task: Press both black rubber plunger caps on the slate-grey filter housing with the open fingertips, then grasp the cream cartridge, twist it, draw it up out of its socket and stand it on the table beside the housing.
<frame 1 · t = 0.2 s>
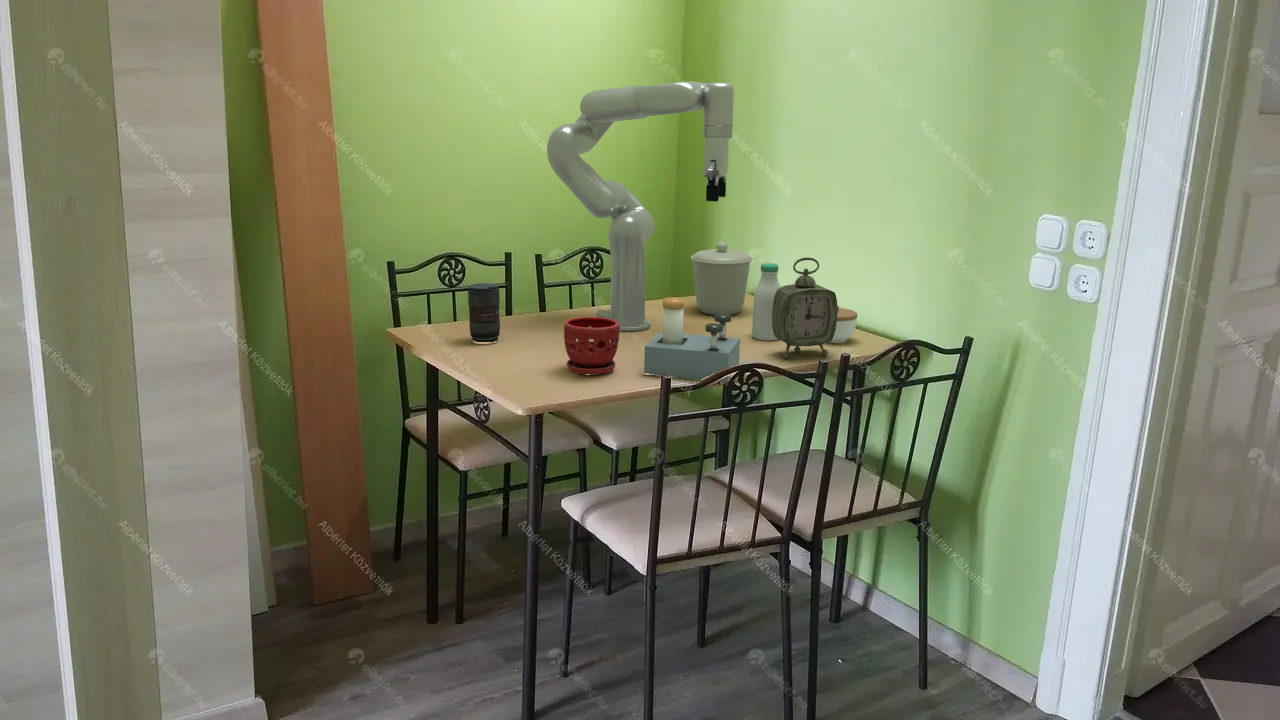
hand: (715, 198, 263), 37 cm above the table, tool pointing down, fingers open, 9 cm apart
plunger 1: (713, 340, 231), point 9 cm above the table, slide at 0.0 cm
plant pot: (591, 370, 239), on the table
milk bottle: (766, 338, 269), on the table
housing: (692, 370, 239), on the table
plunger 2: (722, 330, 240), point 9 cm above the table, slide at 0.0 cm
canister: (719, 312, 297), on the table
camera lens: (485, 342, 263), on the table
tabletop clock: (800, 355, 254), on the table
lidded jar: (834, 341, 268), on the table
cartridge: (672, 356, 240), point 3 cm above the table, touching housing
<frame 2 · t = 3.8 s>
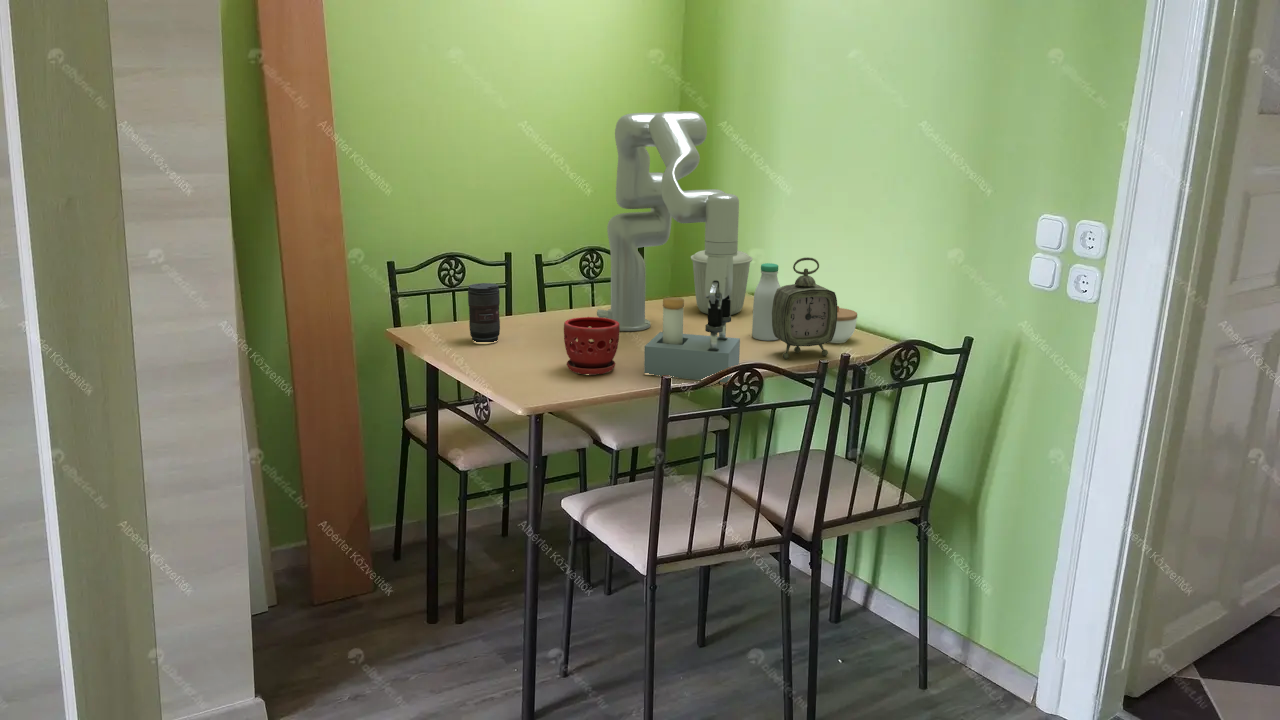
hand: (719, 320, 234), 13 cm above the table, tool pointing down, fingers open, 9 cm apart
plunger 1: (713, 340, 231), point 9 cm above the table, slide at 0.0 cm, touching gripper
plunger 2: (722, 330, 240), point 9 cm above the table, slide at 0.1 cm, touching gripper
everything else where it was.
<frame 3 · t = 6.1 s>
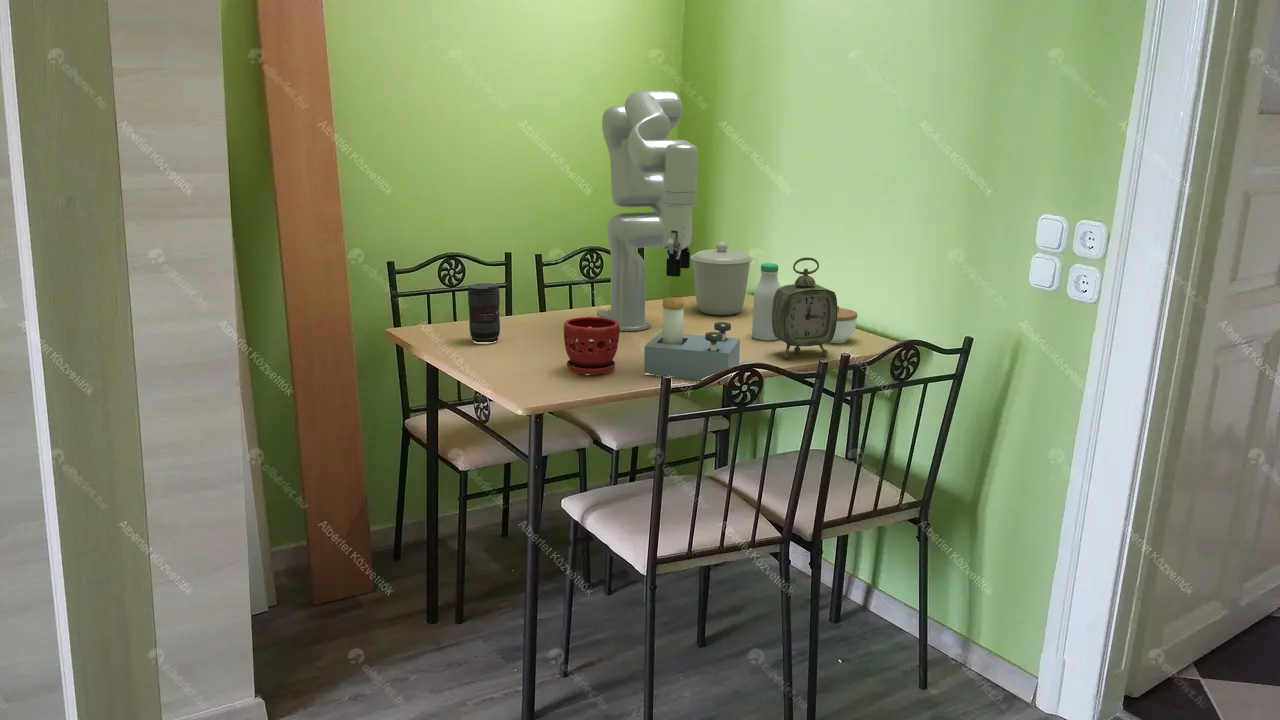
hand: (678, 271, 234), 24 cm above the table, tool pointing down, fingers open, 9 cm apart
plunger 1: (713, 349, 231), point 7 cm above the table, slide at 2.1 cm
plunger 2: (722, 338, 240), point 7 cm above the table, slide at 2.1 cm
everything else where it was.
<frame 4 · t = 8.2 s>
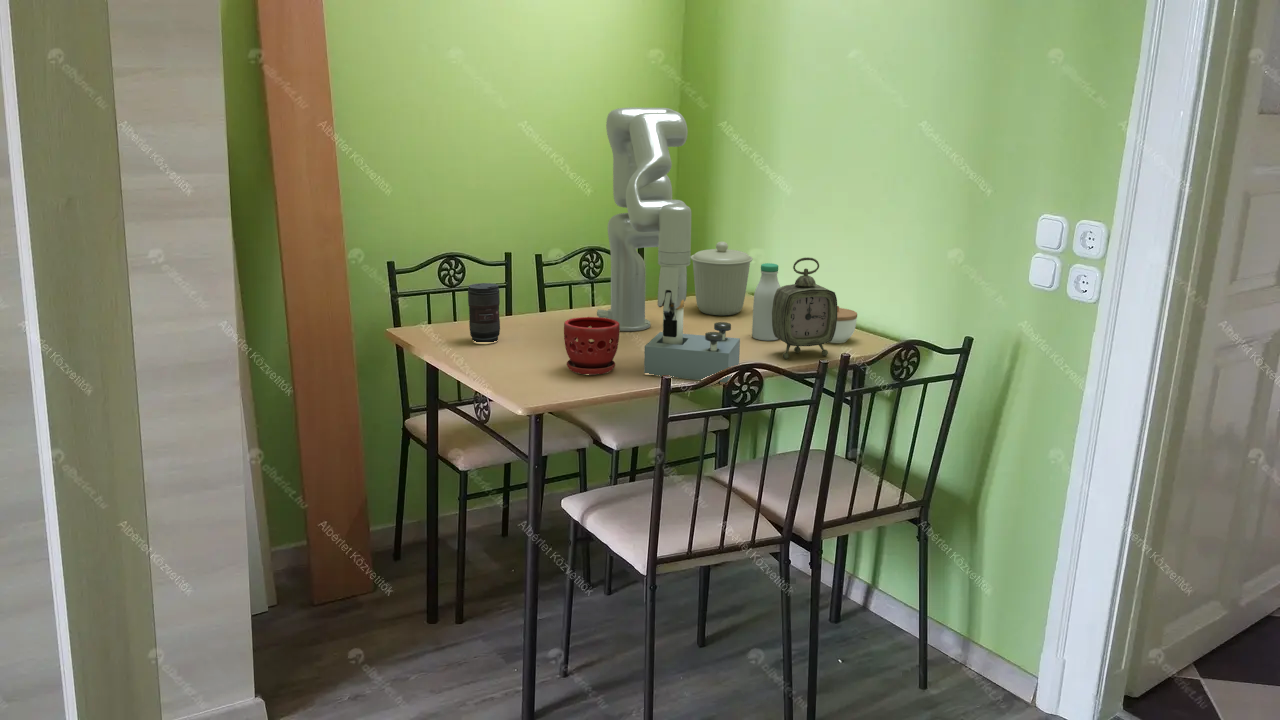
hand: (672, 332, 238), 9 cm above the table, tool pointing down, fingers closed on cartridge, 4 cm apart
cartridge: (672, 356, 240), point 3 cm above the table, touching gripper, housing
everything else where it was.
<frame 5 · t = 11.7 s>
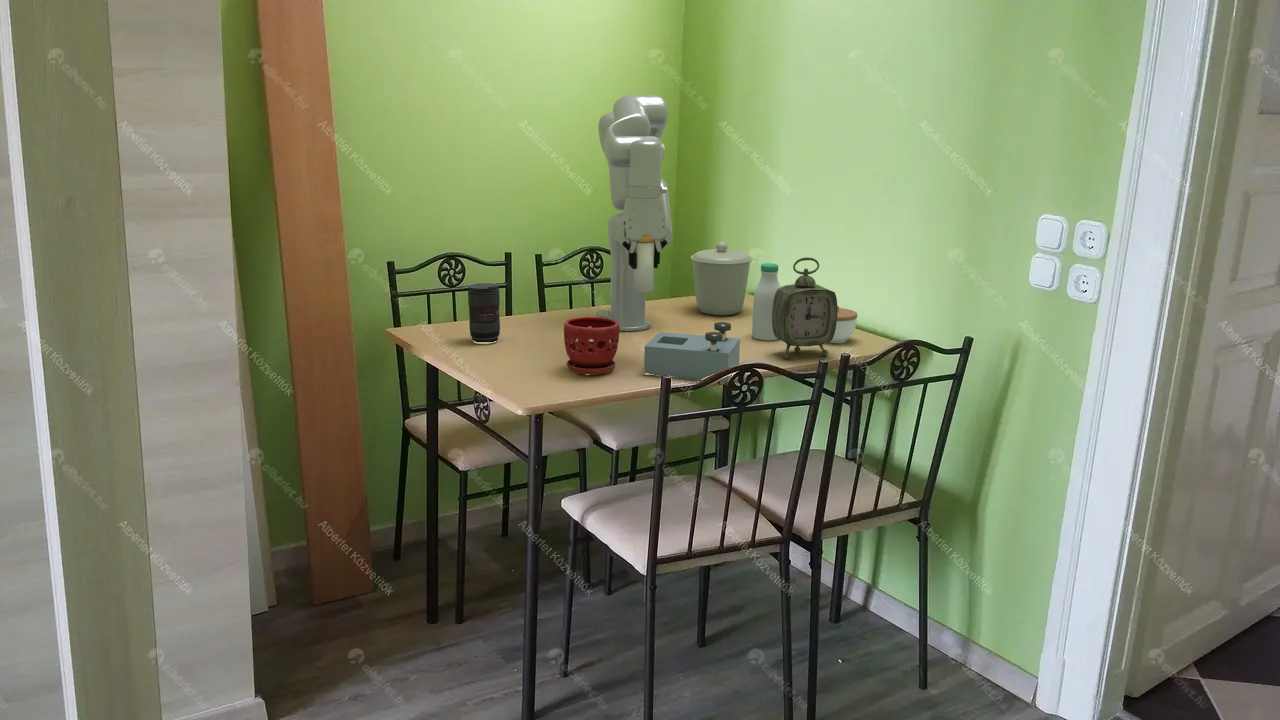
hand: (644, 266, 244), 23 cm above the table, tool pointing down, fingers closed on cartridge, 4 cm apart
cartridge: (643, 290, 246), point 17 cm above the table, touching gripper
everything else where it was.
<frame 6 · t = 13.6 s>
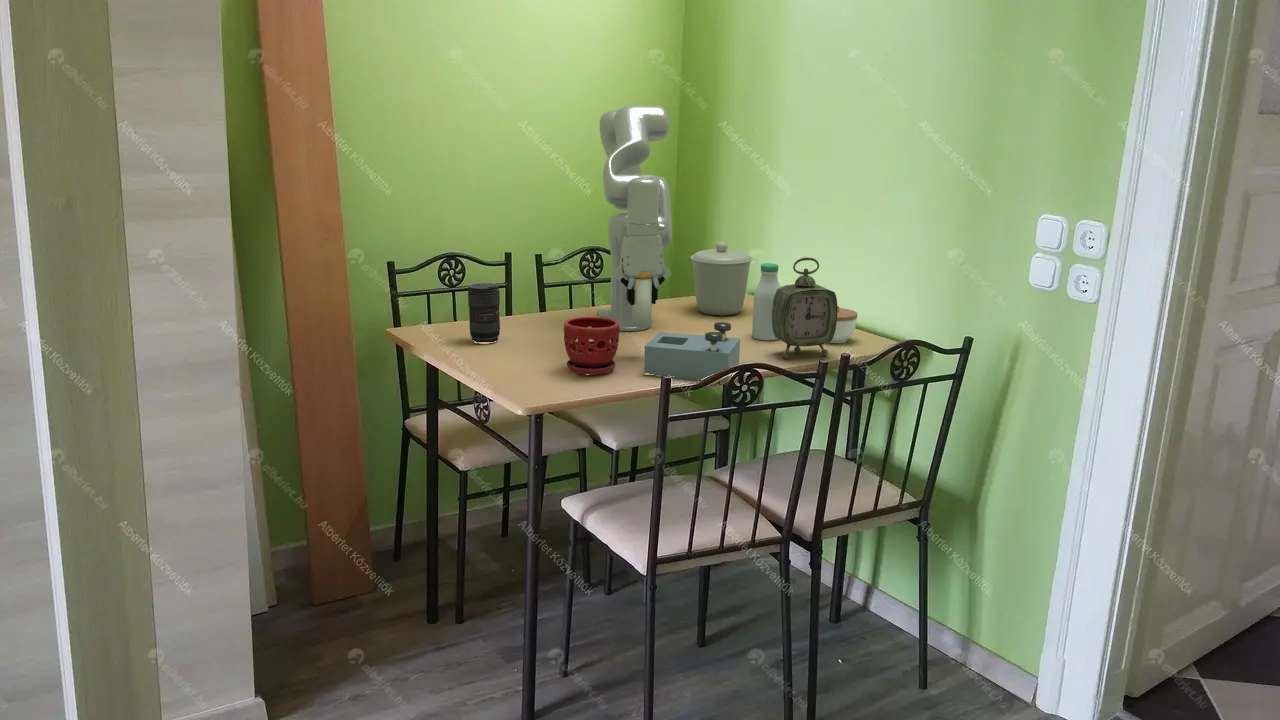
hand: (642, 302, 247), 14 cm above the table, tool pointing down, fingers closed on cartridge, 4 cm apart
cartridge: (641, 325, 248), point 8 cm above the table, touching gripper
everything else where it was.
when the fingers open (7 cm above the table, at t = 15.2 s): cartridge drops 2 cm, on the table.
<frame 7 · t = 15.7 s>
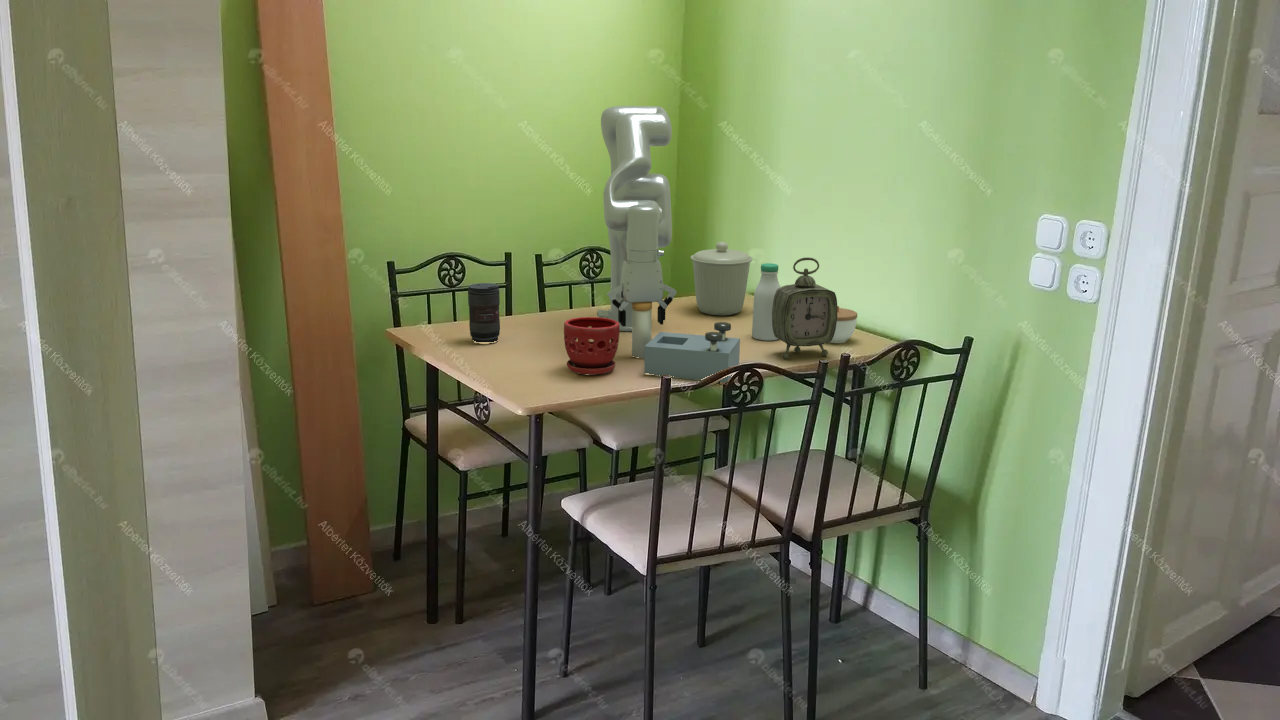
hand: (641, 324, 248), 8 cm above the table, tool pointing down, fingers open, 9 cm apart
cartridge: (641, 356, 251), on the table
everything else where it was.
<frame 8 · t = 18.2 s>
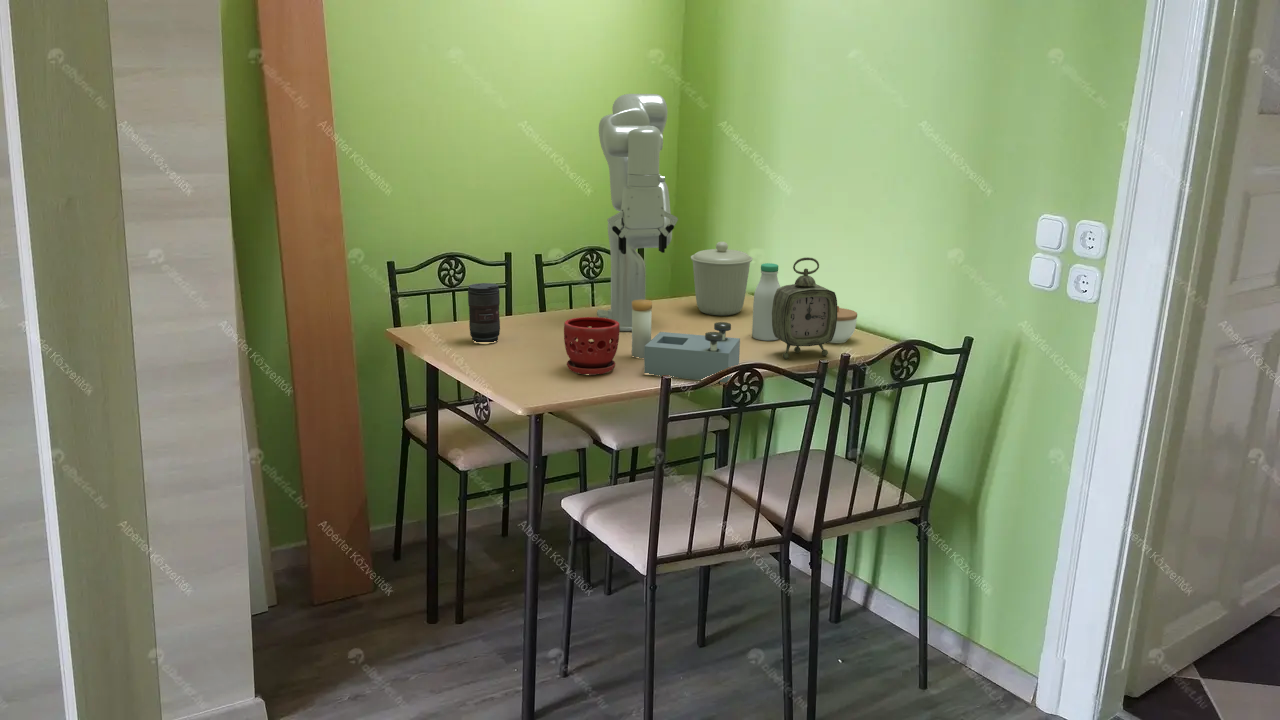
hand: (642, 252, 243), 26 cm above the table, tool pointing down, fingers open, 9 cm apart
nothing on the table moved.
at the end: cartridge inside the target area (0.0 cm from its centre), on the table; plunger 2 slide at 2.1 cm; plunger 1 slide at 2.1 cm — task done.
